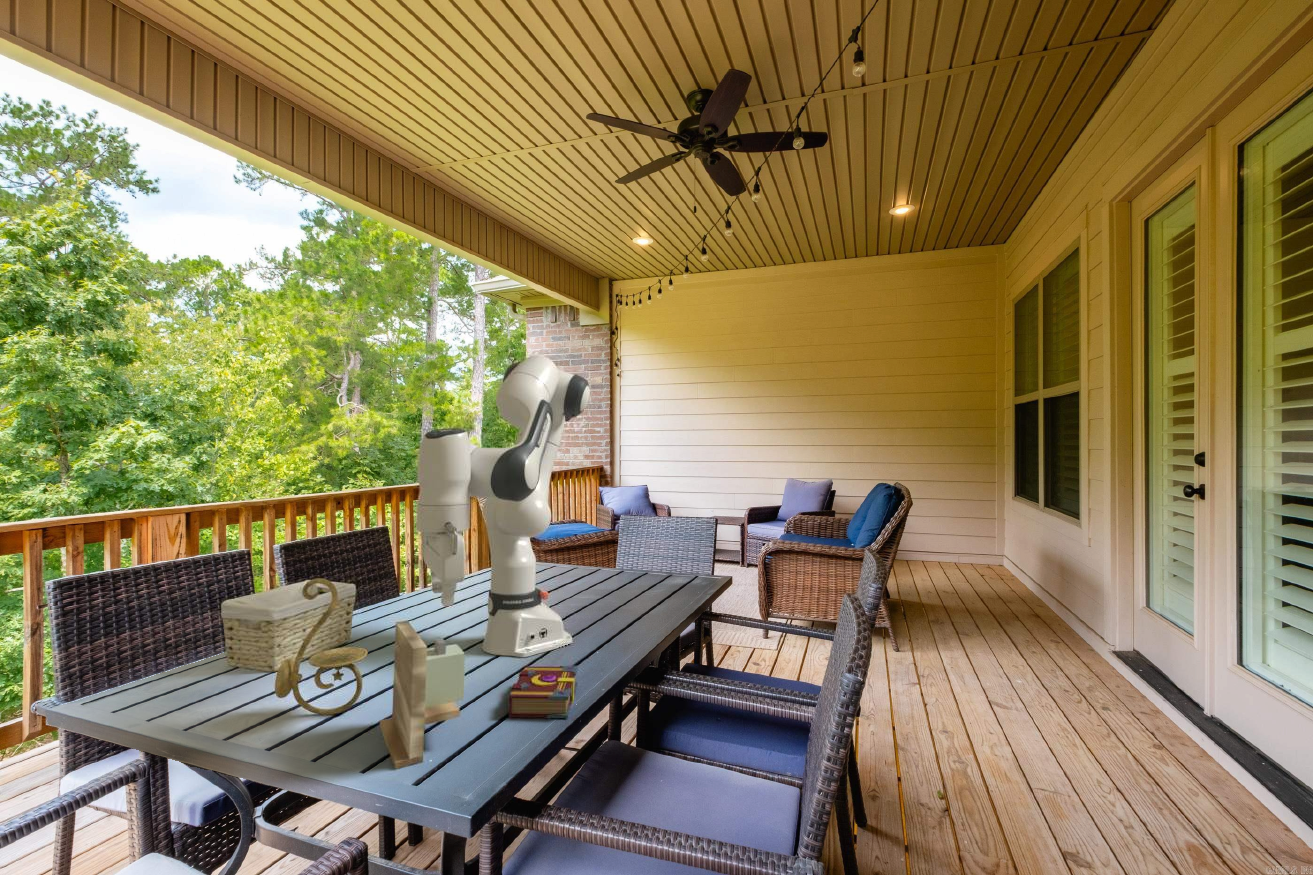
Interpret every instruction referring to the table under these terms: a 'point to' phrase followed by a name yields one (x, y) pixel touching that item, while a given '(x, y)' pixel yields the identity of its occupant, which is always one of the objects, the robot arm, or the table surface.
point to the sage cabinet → (444, 674)
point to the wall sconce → (319, 661)
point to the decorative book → (543, 692)
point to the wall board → (410, 700)
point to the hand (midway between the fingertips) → (442, 598)
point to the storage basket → (284, 624)
